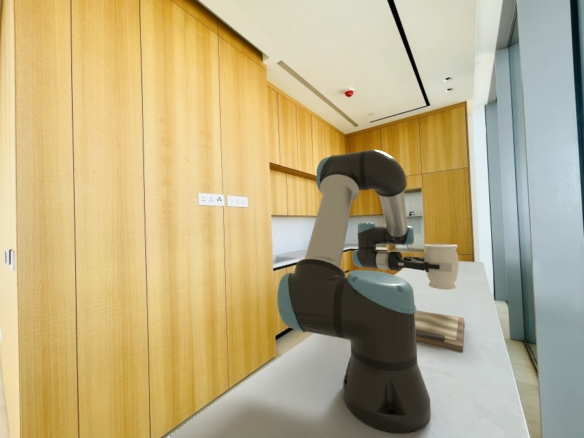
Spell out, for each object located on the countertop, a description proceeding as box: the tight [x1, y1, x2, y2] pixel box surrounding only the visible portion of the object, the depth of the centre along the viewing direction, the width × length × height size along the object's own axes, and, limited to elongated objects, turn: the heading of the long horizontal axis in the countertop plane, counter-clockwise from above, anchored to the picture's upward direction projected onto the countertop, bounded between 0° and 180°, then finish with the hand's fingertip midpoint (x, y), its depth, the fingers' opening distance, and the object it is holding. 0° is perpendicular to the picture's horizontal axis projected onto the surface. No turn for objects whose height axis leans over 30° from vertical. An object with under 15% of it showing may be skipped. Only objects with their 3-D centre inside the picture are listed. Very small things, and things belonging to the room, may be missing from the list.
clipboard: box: [415, 309, 465, 352], centre depth 76 cm, size 22×16×2 cm
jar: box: [423, 243, 459, 290], centre depth 87 cm, size 11×10×15 cm
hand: (454, 265), depth 85 cm, fingers closed on jar, 11 cm apart
